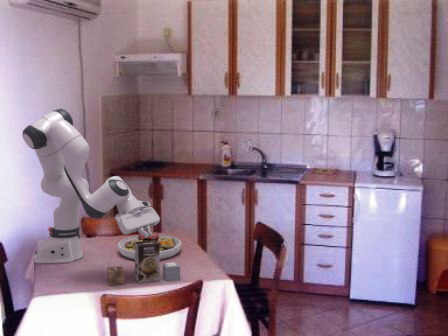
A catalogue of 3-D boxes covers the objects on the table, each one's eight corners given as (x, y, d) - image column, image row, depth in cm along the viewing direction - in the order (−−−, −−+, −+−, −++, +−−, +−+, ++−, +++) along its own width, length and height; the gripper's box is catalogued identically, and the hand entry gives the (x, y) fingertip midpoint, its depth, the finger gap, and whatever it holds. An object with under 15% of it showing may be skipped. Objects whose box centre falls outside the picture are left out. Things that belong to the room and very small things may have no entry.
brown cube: (109, 286, 234) (109, 271, 233) (107, 281, 240) (107, 267, 239) (124, 285, 236) (124, 270, 235) (122, 280, 242) (121, 265, 241)
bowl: (189, 258, 271) (189, 242, 269) (125, 266, 260) (125, 249, 259) (171, 241, 298) (171, 226, 297) (112, 247, 287) (112, 232, 286)
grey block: (166, 281, 240) (165, 267, 239) (162, 276, 246) (162, 262, 245) (180, 280, 242) (180, 265, 241) (176, 275, 248) (176, 261, 247)
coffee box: (138, 283, 237) (138, 245, 235) (134, 278, 243) (134, 241, 240) (160, 280, 241) (159, 243, 238) (155, 276, 247) (155, 239, 244)
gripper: (116, 210, 233) (135, 238, 229) (151, 201, 249) (169, 226, 245) (109, 219, 236) (127, 247, 232) (144, 209, 253) (161, 235, 249)
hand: (149, 236), depth 239 cm, fingers closed
